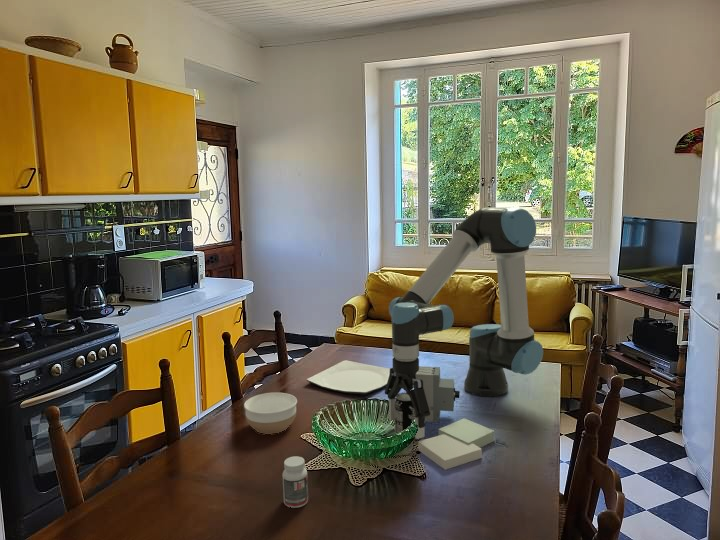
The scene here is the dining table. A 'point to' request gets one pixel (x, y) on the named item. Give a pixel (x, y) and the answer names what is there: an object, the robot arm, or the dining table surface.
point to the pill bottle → (295, 482)
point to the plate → (352, 378)
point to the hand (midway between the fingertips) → (406, 428)
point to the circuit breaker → (437, 392)
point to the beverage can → (403, 412)
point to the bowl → (270, 412)
